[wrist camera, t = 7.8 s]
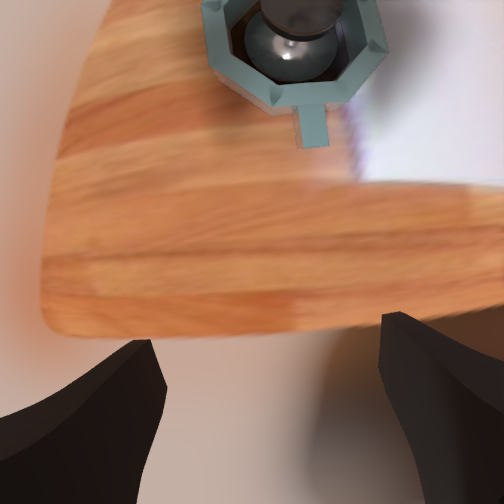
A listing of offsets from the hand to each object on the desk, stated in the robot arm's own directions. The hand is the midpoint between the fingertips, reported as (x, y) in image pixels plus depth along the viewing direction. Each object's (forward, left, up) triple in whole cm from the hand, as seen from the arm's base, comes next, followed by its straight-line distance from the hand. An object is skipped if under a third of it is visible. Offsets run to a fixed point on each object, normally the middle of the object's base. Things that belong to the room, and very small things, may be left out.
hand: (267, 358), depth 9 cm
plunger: (-3, -12, -10) cm, 16 cm away
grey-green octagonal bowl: (-3, -12, -10) cm, 16 cm away
